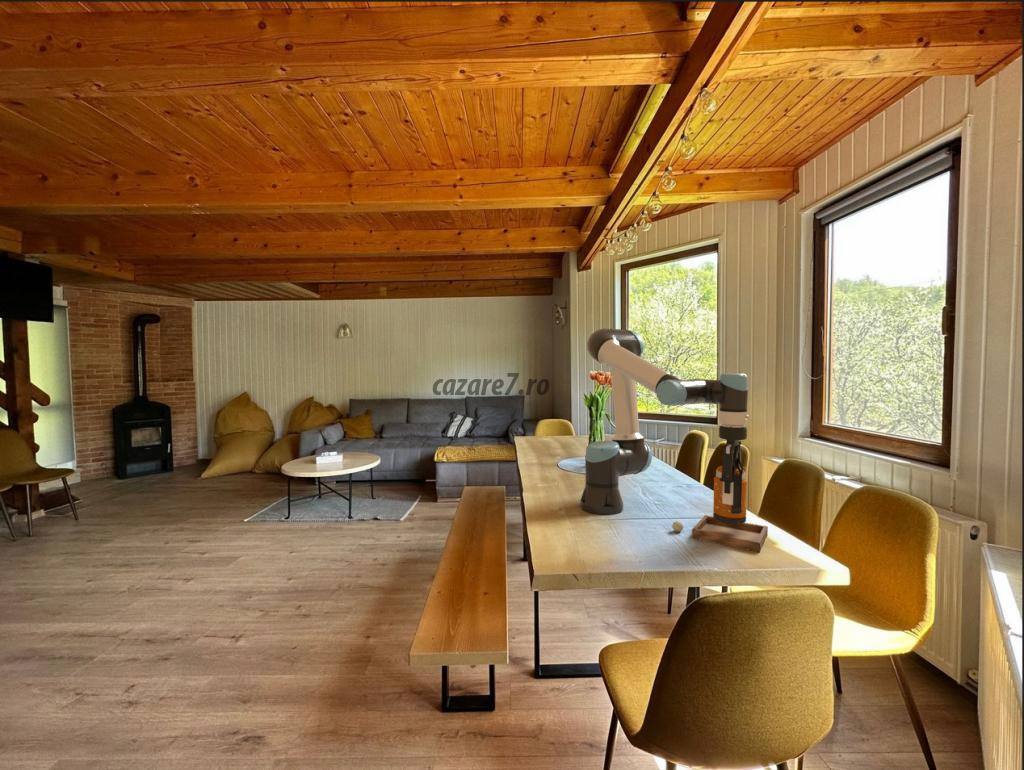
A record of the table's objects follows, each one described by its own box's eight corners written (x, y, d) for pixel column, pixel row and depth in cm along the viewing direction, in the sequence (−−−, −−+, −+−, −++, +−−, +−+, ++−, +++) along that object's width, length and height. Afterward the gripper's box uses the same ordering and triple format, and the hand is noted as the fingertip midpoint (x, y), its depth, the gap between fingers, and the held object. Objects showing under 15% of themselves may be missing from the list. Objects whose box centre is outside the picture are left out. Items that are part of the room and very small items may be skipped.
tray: (691, 537, 140) (692, 529, 139) (704, 523, 153) (705, 515, 153) (759, 552, 129) (760, 542, 129) (767, 534, 142) (767, 526, 142)
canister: (739, 516, 145) (740, 452, 145) (753, 529, 134) (755, 459, 134) (709, 515, 146) (710, 451, 145) (721, 527, 135) (723, 459, 134)
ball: (670, 531, 145) (671, 521, 144) (673, 528, 147) (674, 518, 147) (681, 534, 143) (681, 523, 143) (684, 531, 145) (684, 520, 145)
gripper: (739, 430, 128) (738, 511, 129) (753, 422, 146) (751, 493, 147) (710, 428, 132) (709, 506, 133) (727, 420, 151) (725, 489, 152)
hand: (731, 499), depth 140 cm, fingers closed on canister, 10 cm apart
